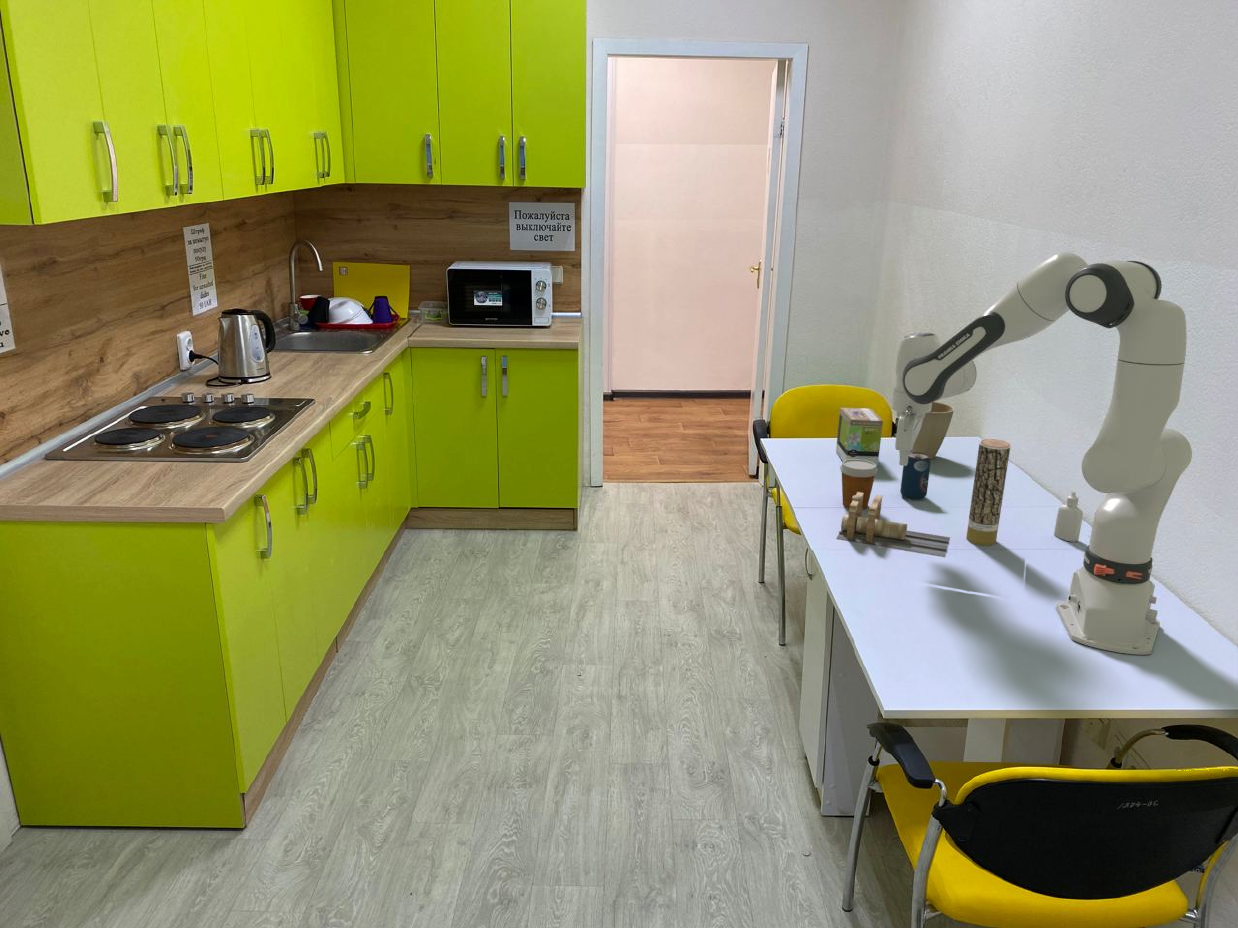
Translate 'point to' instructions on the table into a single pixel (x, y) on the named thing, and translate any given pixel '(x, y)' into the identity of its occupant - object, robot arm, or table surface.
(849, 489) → the disposable coffee cup
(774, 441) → the table surface
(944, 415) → the plant pot
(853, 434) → the tea box
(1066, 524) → the eye dropper bottle
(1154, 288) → the robot arm
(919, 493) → the soda can
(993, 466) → the paper tube
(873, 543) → the collar stand
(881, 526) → the wooden roller
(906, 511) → the table surface
